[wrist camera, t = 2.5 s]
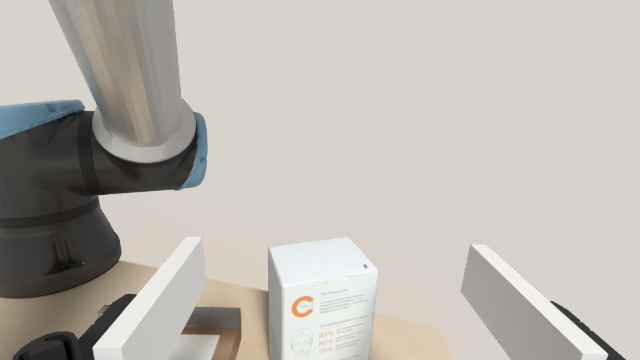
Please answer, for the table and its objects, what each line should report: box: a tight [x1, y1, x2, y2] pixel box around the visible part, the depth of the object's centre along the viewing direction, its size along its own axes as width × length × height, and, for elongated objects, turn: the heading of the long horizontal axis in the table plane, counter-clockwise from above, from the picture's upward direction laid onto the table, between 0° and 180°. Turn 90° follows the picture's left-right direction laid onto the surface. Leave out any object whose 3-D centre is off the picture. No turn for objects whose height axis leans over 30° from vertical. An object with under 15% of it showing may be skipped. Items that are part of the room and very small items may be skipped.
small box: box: [268, 237, 379, 360], centre depth 28 cm, size 8×6×13 cm
